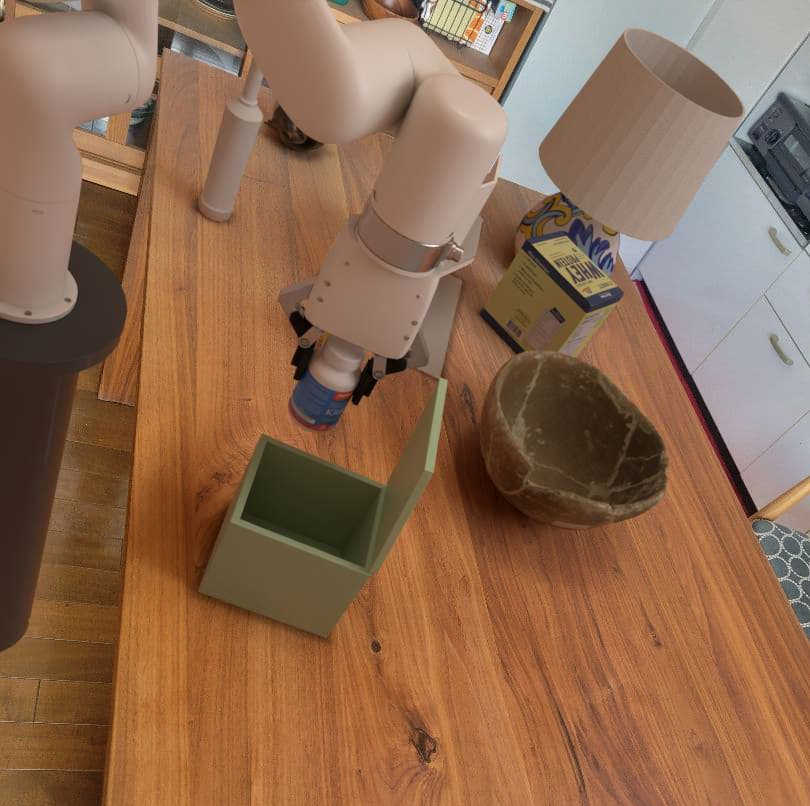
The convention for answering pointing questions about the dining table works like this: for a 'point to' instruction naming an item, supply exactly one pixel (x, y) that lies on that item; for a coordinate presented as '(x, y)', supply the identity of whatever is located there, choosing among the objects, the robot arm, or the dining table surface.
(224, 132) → the bottle
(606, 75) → the table lamp
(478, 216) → the architectural model
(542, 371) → the bowl
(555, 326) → the protein box
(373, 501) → the box
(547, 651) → the dining table surface
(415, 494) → the lid
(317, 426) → the pill bottle
